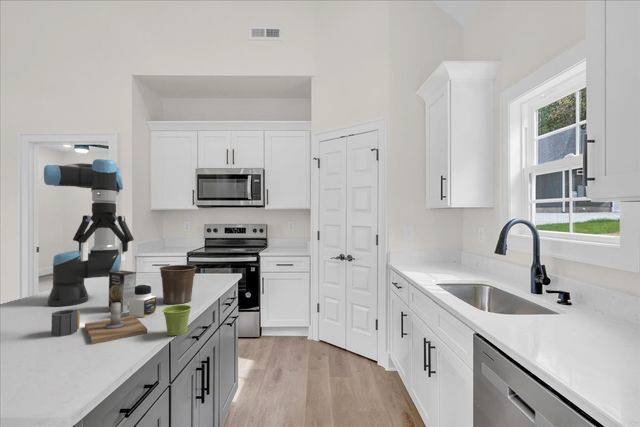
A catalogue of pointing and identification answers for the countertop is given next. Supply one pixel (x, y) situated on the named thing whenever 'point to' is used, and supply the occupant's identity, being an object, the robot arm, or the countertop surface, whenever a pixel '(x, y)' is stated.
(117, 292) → the coffee box
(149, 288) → the medicine bottle
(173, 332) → the plant pot
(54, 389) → the countertop surface
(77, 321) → the knob
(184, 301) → the plant pot
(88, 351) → the countertop surface
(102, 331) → the board
